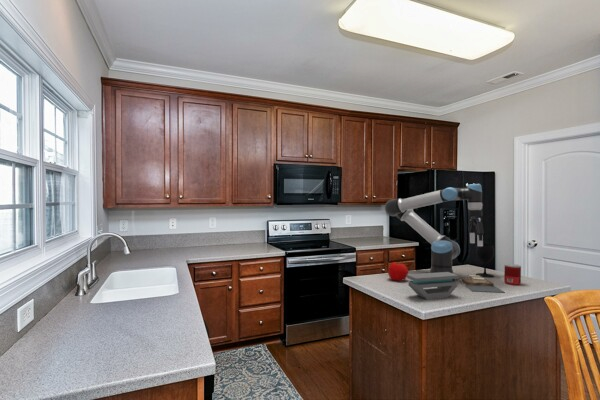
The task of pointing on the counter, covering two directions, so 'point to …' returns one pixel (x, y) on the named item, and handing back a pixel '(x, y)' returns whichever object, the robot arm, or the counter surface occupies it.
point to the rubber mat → (484, 289)
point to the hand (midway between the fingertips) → (476, 244)
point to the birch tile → (477, 278)
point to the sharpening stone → (433, 284)
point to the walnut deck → (469, 282)
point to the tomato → (398, 271)
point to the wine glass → (485, 257)
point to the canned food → (512, 274)
